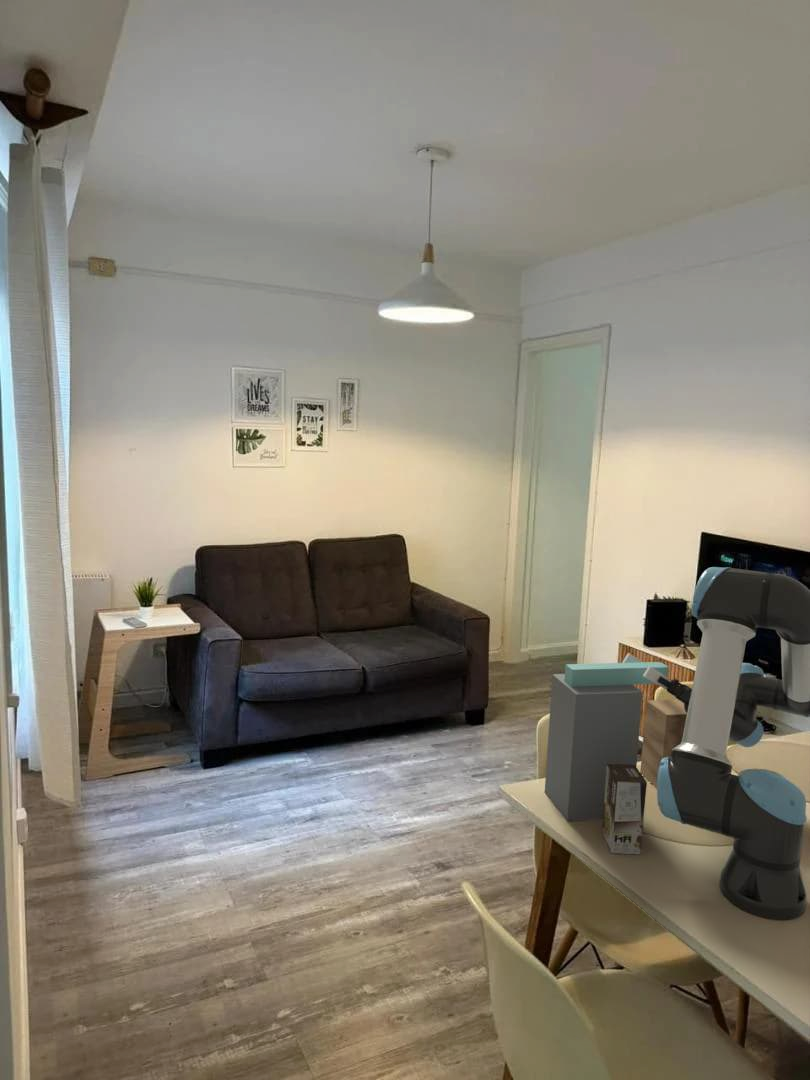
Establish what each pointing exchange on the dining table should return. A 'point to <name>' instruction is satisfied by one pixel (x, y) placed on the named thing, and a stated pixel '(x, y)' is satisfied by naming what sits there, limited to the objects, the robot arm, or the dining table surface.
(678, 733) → the walnut pedestal
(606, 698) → the tall stand
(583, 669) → the teal bar
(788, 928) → the dining table surface
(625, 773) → the coffee box
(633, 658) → the robot arm
